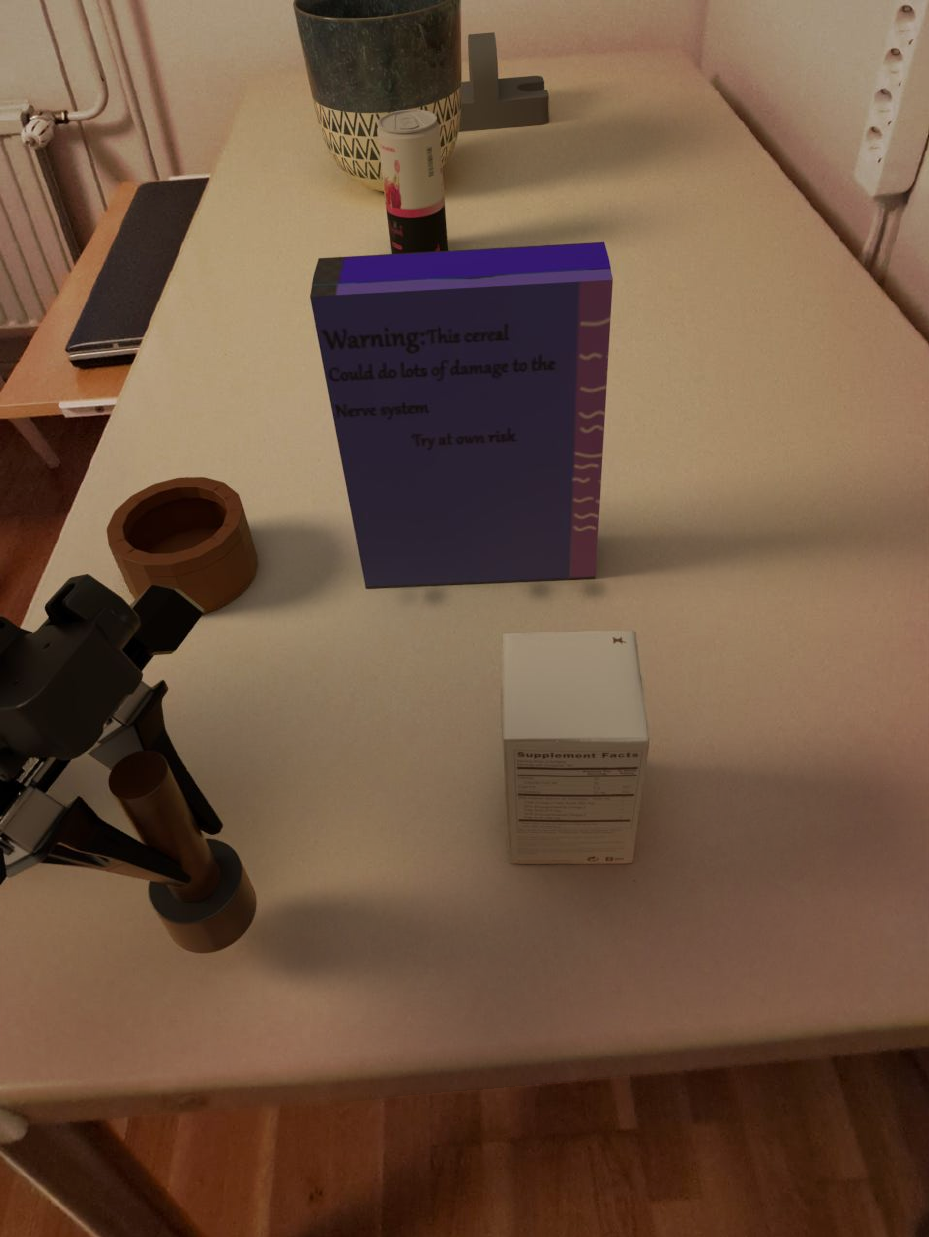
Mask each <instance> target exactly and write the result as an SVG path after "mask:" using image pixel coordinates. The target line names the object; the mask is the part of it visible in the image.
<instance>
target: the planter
mask: <svg viewBox="0 0 929 1237" xmlns="http://www.w3.org/2000/svg"><path fill="white" fill-rule="evenodd" d="M292 6H293V13H294V17H295V23H296V28H297V32H298V37H299V42H300V45H301V50H302V55H303V59H304V64H305V69H306V74H307V79H308V82H309V88H310V92H311V96H312V102H313V107H314V110H315V115H316V120H317V124H318V127H319V130H320V133H321V136H322V139H323V141H324V143H325V146H326V148H327V151H328V152H329V154H330V156H331V158H332V160H334V162H335V164H336V165H337V166H338V167H339V168H340V169H341V170H342V171H343V172H344V173H345V174H346V175H347V176H348V177H350V178H351V180H353V181H355V182H356V183H358V184H360V185H362V186H363V187H364V188H365V187H366V188H368V189H370V190H374V191H377V192H384V185H383V176H382V168H381V159H380V151H379V142H378V134H377V128H378V127H379V126H378V120H379V119H380V118H381V117H383V116H384V115H386V114H389V113H392V112H396V111H401V110H411V109H417V110H426V111H429V112H432V113H434V114H435V115H436V116H437V122H438V123H439V130H440V143H441V157H442V168H443V167H444V166H445V165H446V163H447V162H448V161H449V158H450V157H451V155H452V153H453V151H454V149H455V146H456V144H457V140H458V135H459V132H460V131H459V126H460V119H461V105H462V104H461V82H462V72H463V71H462V0H293V3H292Z"/></svg>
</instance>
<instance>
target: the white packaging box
mask: <svg viewBox="0 0 929 1237" xmlns="http://www.w3.org/2000/svg"><path fill="white" fill-rule="evenodd" d="M638 647H639V646H638V641H637V632H636V631H635V630H584V631H583V630H582V631H581V630H580V631H540V632H539V631H538V632H536V631H535V632H534V631H533V632H532V631H531V632H507V633H503V635H502V644H501V673H500V701H501V702H500V707H501V708H500V710H501V711H500V712H501V738H502V753H503V754H502V755H503V772H504V774H503V776H504V790H505V791H504V792H505V793H504V794H505V808H506V810H505V812H506V824H507V826H506V827H507V842H508V859H509V860H508V861H509V863H510V864H518V865H519V864H520V865H521V864H522V865H523V864H524V865H540V864H541V865H609V864H613V865H614V864H615V865H616V864H617V865H620V864H631V863H632V862H633V860H634V853H635V844H636V837H637V836H636V835H637V832H638V824H639V823H638V822H639V817H640V812H641V811H640V810H641V805H642V804H641V803H642V796H643V789H644V784H645V777H646V770H647V764H648V757H649V747H650V746H649V745H650V731H649V723H648V715H647V709H646V708H647V706H646V701H645V694H644V684H643V676H642V671H641V664H640V656H639V648H638Z"/></svg>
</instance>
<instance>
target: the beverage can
mask: <svg viewBox="0 0 929 1237" xmlns="http://www.w3.org/2000/svg"><path fill="white" fill-rule="evenodd" d="M378 126H379V127H378V128H377V134H378V142H379V151H380V159H381V168H382V176H383V185H384V202H385V209H386V217H387V226H388V234H389V243H390V253H391V254H401V253H418V252H435V251H449V242H448V240H449V239H448V227H447V214H446V201H445V185H444V172H443V167H442V157H441V143H440V130H439V123H438V122H437V116H436V115H435V114H434V113H432V112H429V111H426V110H417V109H411V110H401V111H396V112H392V113H389V114H386V115H384V116H383V117H381V118H380V119H379V120H378Z"/></svg>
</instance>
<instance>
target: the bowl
mask: <svg viewBox="0 0 929 1237" xmlns="http://www.w3.org/2000/svg"><path fill="white" fill-rule="evenodd" d="M106 535H107V543H108V547H109V550H110V551H111V553H112V555H113V558H114V560H115V562H116V565H117V567H118V569H119V572H120V574H121V577H122V578H123V580H124V583H125V585H126V588H127V590H128V592H129V593H130V594H131V595H132V597H133V599H134V601H135V600H136V599H137V598H138V597H139V596H140V595H141V594H142V593H143V592H144V591H145V590H146V589H148V588H149V587H150V586H151V585H152V584H153V585H162V586H168V587H172V588H177V589H180V590H181V591H182V592H183V593H185V594H186V595H187V596H188V597H190V598H191V599H192V600H193V601H195V602H196V603H197V604H198V605H200V606H201V607H202V608H203V609H205V610H204V614H203V615H205V614H208V613H211V612H214V611H217V610H218V609H221V608H223V607H226V605H229V604H230V603H231V602H233V601H235V600H236V599H237V598H238V597H240V596H241V595H242V594H243V593H244V592H245V591H246V590H247V589H248V588H249V586H250V585H251V584H252V582H253V581H254V579H255V577H256V575H257V572H258V566H259V558H258V553H257V550H256V546H255V543H254V539H253V535H252V532H251V528H250V525H249V523H248V519H247V515H246V512H245V509H244V506H243V503H242V500H241V496H240V494H239V493H238V492H237V491H236V490H235V489H233V488H232V487H231V486H229V485H228V484H227V483H225V482H223V481H219V480H217V479H212V478H209V477H203V476H195V477H194V476H193V477H191V476H188V477H187V476H186V477H185V476H184V477H175V478H172V479H168V480H164V481H161V482H157V483H153V484H151V485H149V486H147V487H145V488H144V489H141V490H140V491H138V492H136V493H134V494H132V495H131V496H129V497H128V498H127V499H126V500H125V501H124V502H123V503H121V504H120V506H118V507H117V508H116V510H114V512H113V514H112V516H111V518H110V520H109V522H108V524H107V527H106Z"/></svg>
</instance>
